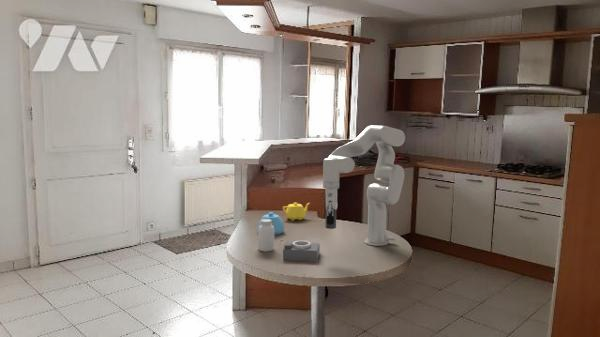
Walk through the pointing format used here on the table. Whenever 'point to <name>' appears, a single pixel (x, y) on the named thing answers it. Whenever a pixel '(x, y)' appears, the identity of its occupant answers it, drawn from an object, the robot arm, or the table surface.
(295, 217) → the teapot
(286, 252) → the camera body
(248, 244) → the table surface
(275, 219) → the sugar bowl
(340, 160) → the robot arm
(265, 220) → the pill bottle
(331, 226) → the lens
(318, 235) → the table surface
